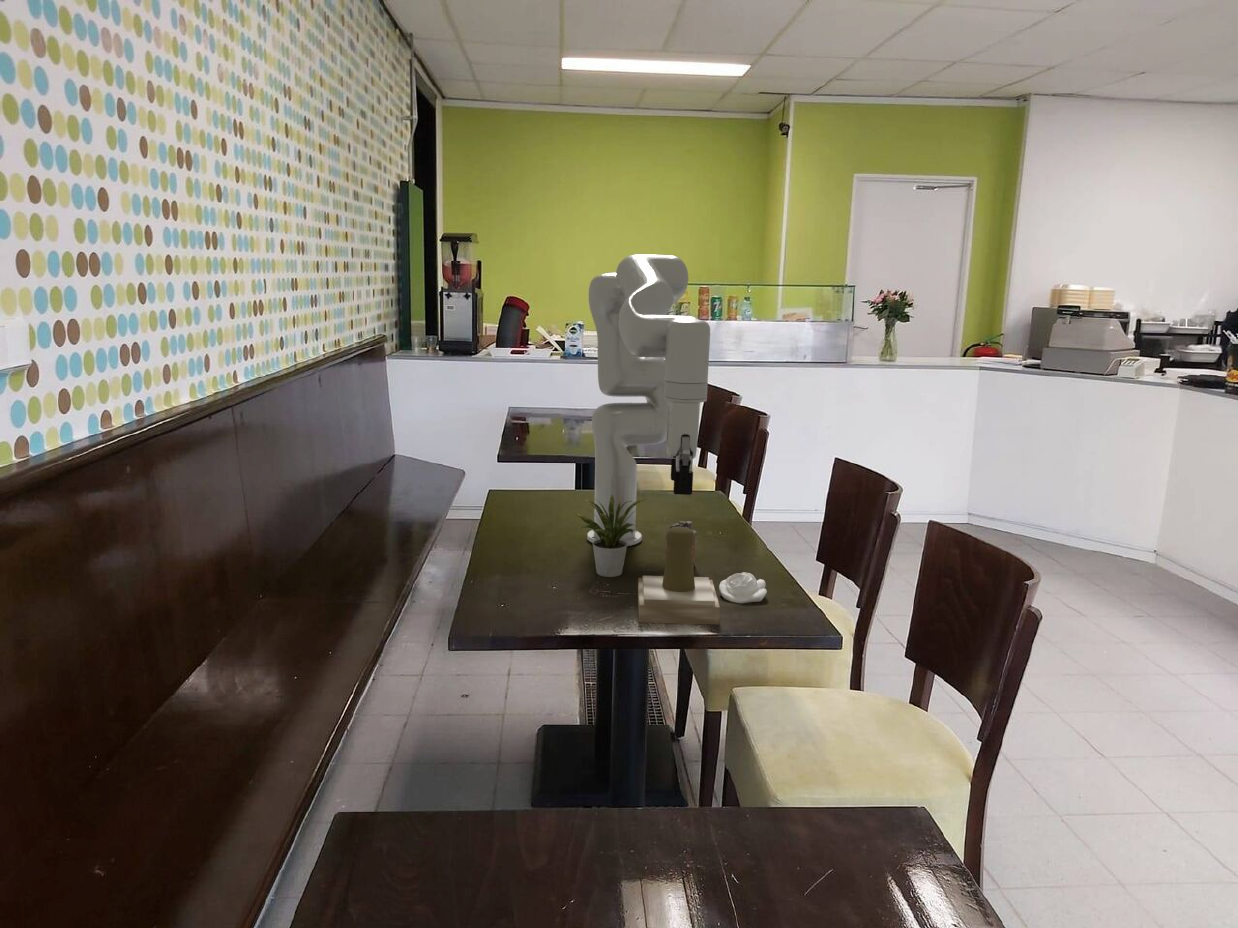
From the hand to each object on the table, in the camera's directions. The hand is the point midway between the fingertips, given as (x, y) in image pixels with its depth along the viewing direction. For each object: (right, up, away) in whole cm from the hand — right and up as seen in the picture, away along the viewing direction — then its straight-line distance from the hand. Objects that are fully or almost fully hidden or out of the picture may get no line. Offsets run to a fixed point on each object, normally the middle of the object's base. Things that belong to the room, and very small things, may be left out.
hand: (680, 487), depth 153 cm
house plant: (-12, -18, +24) cm, 33 cm away
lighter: (+2, -18, +27) cm, 32 cm away
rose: (+13, -21, +13) cm, 28 cm away
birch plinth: (0, -22, +4) cm, 23 cm away
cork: (0, -18, +4) cm, 19 cm away
